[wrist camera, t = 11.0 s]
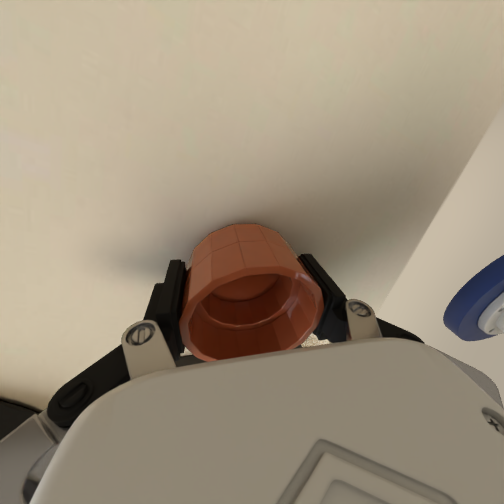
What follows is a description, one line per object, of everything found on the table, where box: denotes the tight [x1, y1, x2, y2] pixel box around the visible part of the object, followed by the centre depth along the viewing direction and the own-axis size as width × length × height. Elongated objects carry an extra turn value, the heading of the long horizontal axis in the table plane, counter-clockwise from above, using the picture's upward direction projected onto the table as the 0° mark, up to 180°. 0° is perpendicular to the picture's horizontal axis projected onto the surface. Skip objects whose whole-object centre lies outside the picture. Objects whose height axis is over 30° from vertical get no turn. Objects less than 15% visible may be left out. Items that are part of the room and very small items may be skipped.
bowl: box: [179, 224, 324, 362], centre depth 11 cm, size 7×7×5 cm
